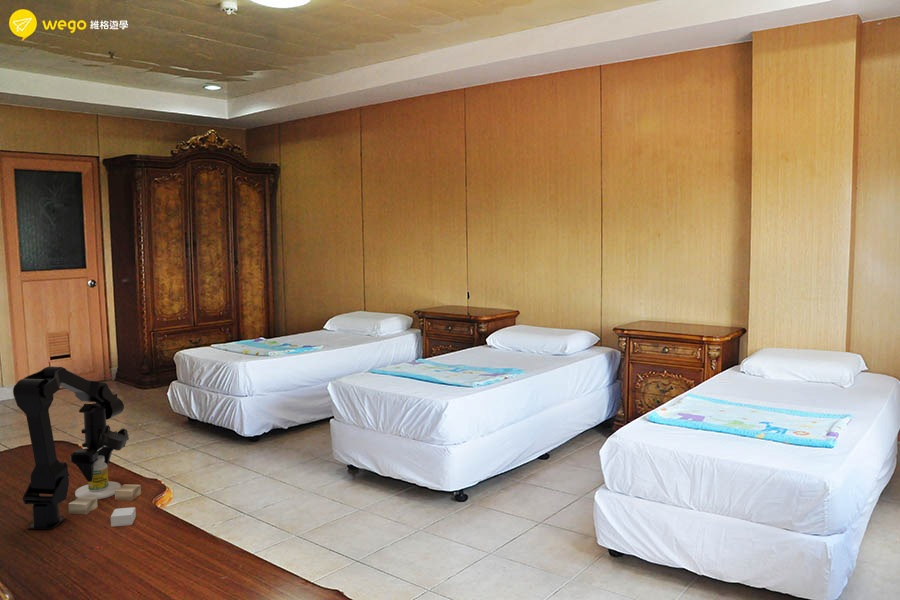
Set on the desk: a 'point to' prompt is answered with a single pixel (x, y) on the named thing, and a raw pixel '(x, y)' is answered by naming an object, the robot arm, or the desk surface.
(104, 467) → the supplement bottle
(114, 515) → the grey plastic block
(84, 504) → the birch block
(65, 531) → the desk surface
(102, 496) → the cream saucer
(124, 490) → the oak block
